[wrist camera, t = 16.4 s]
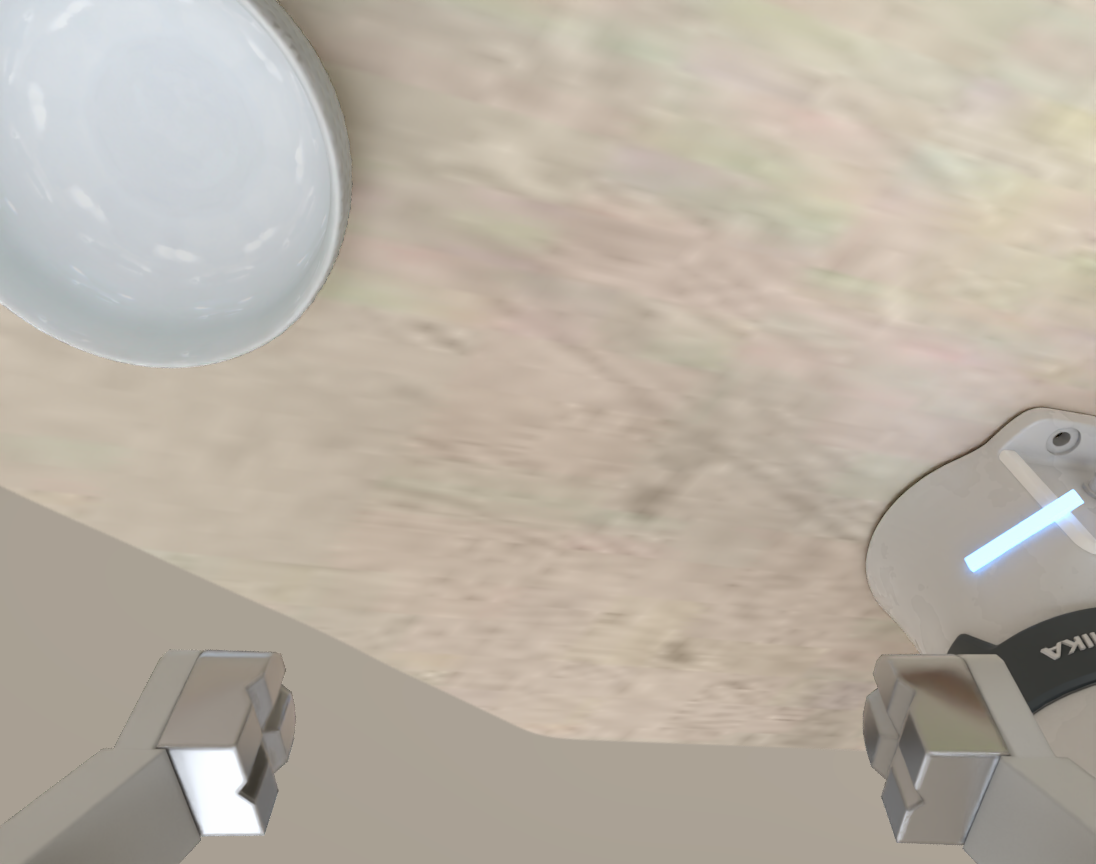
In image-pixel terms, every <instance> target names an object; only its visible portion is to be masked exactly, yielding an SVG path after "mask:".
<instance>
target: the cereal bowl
mask: <svg viewBox="0 0 1096 864" xmlns="http://www.w3.org/2000/svg"><path fill="white" fill-rule="evenodd" d="M351 172H352V158H351V155H350V142H349V139H348V133H347V128H346V126H345V117H344V115H343V113H342V111H341V107H340V103H339V101H338V99H337V96H336V92H335V89H334V87H333V86H332V84H331V82H330V80H329V76H328V73H327V72H326V71H325V69H324V67H323V65H322V63H321V61H320V59H319V58H318V56H317V54H316V52H315V50H314V49H313V47H312V46H311V45H310V43H309V41H308V39H307V38H306V37H305V36H304V34H303V33H302V31H301V30H300V29H299V27H298V26H297V25H296V24H295V23H294V21H293V20H292V18H291V17H290V16H289V15H288V14H287V13H286V11H285V10H284V9H283V8H282V7H281V6H280V5H279V4H278V3H277V1H276V0H0V303H1V304H2V305H3V306H4V307H6V308H7V309H9V310H10V311H11V312H13V313H14V314H15V315H17V316H18V317H20V318H21V319H23V320H25V321H26V322H28V323H29V324H31V325H32V326H34V327H35V328H37V329H39V330H40V331H42V332H44V333H46V334H48V335H50V336H52V337H53V338H55V339H57V340H59V341H61V342H63V343H66V344H68V345H70V346H73V347H75V348H77V349H79V350H82V351H85V352H88V353H90V354H93V355H96V356H99V357H103V358H106V359H109V360H113V361H117V362H121V363H126V364H131V365H137V366H145V367H155V368H186V367H199V366H206V365H211V364H216V363H219V362H223V361H227V360H230V359H233V358H236V357H239V356H242V355H244V354H247V353H249V352H251V351H253V350H255V349H257V348H259V347H261V346H264V345H265V344H267V343H269V342H270V341H272V340H273V339H275V338H276V337H278V336H279V335H281V334H282V333H283V332H284V331H286V330H287V329H288V328H289V327H290V326H291V325H292V324H293V323H294V322H296V321H297V320H298V319H299V318H300V317H301V315H302V314H303V312H304V311H305V310H306V309H307V308H308V307H309V306H310V305H311V304H312V303H313V302H314V300H315V297H316V295H317V293H318V292H319V291H320V290H321V289H322V287H323V285H324V284H325V282H326V280H327V277H328V276H329V275H330V272H331V270H332V269H333V265H334V263H335V262H336V258H337V257H338V255H339V249H340V247H341V245H342V242H343V240H344V235H345V231H346V227H347V225H348V218H349V212H350V209H351V200H352V199H351V196H352V191H351V190H352V185H353V183H352V173H351Z"/></svg>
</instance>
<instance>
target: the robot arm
mask: <svg viewBox="0 0 1096 864" xmlns="http://www.w3.org/2000/svg"><path fill="white" fill-rule="evenodd" d="M1061 432H1063V433H1062V435H1060V436H1059V437H1057V438H1054V437H1055V436H1056V435H1057V434H1059V433H1061ZM866 574H867V580H868V584H869V587H870V590H871V592H872V594H873V596H874V598H875V599H876V601H877V602H878V604H879V605H880V606H881V607H882V608H883V610H884V611H885V612H886V613H887V614H888V615H889V616H890V617H891V618H892V619H893V620H894V621H895V622H896V623H897V624H898V625H899V626H900V628H901V629H902V630H903V631H904V632H905V634H906V635H907V636H908V638H909V639H910V640H911V642H912V643H913V644H914V646H915V647H916V649H917V650H918V652H919V653H920V654H882V655H881V656H880V657H879V659H878V660H877V661H876V665H875V668H874V672H873V676H874V679H875V681H876V684H877V687H878V688H877V689H876V690H874V691H873V692H872V693H871V694H869V695H868V696H867V698H866V702H865V707H864V711H863V735H864V741H865V746H866V751H867V754H868V757H869V760H870V763H871V766H872V768H874V769H875V770H876V771H877V772H878V773H879V774H880V775H881V776H883V777H884V778H885V779H886V782H885V786H884V789H883V792H882V796H881V797H882V800H883V803H884V806H885V809H886V812H887V815H888V818H889V821H890V824H891V827H892V830H893V833H894V836H895V839H896V842H897V843H918V844H944V845H964V846H963V849H964V851H965V852H966V853H967V854H968V855H969V856H970V857H971V858H972V859H973V860H974V861H975V862H976V863H977V864H1096V416H1092V415H1086V414H1080V413H1074V412H1068V411H1063V410H1057V409H1051V408H1034V409H1030V410H1028V411H1026V412H1024V413H1022V414H1020V415H1019V416H1017V417H1016V418H1014V419H1013V420H1012V421H1011V422H1009V423H1008V424H1007V425H1006V426H1005V427H1003V428H1002V429H1001V430H1000V431H999V432H998V433H997V434H996V435H995V436H994V437H992V438H991V439H990V440H989V441H988V442H987V443H986V444H985V445H983V446H982V447H980V448H979V449H977V450H975V451H973V452H971V453H969V454H967V455H965V456H963V457H961V458H959V459H957V460H955V461H952V462H950V463H948V464H946V465H944V466H942V467H940V468H939V469H937V470H935V471H933V472H932V473H930V474H928V475H927V476H925V477H924V478H922V479H921V480H920V481H918V482H917V483H916V484H914V485H913V486H912V487H910V488H909V489H908V490H907V491H906V492H905V493H904V494H902V495H901V496H900V497H899V498H898V499H897V500H896V501H895V503H894V504H893V505H892V506H891V507H890V508H889V510H888V511H887V512H886V513H885V515H884V516H883V518H882V519H881V521H880V522H879V524H878V526H877V527H876V529H875V531H874V534H873V536H872V538H871V541H870V544H869V547H868V552H867V558H866ZM285 672H286V668H285V665H284V662H283V659H282V655H281V653H277V652H259V651H257V652H256V651H227V650H226V651H225V650H173V649H170V650H169V651H167V652H166V653H165V654H164V655H163V656H162V657H161V658H160V659H159V661H158V663H157V665H156V667H155V669H154V671H153V672H152V674H151V676H150V678H149V680H148V682H147V684H146V686H145V688H144V690H143V692H142V694H141V696H140V698H139V700H138V701H137V703H136V705H135V707H134V709H133V711H132V713H131V715H130V717H129V719H128V721H127V723H126V725H125V727H124V729H123V730H122V733H121V734H120V736H119V738H118V740H117V742H116V744H115V746H114V748H113V749H112V748H108V749H101V750H100V751H99V752H97V753H96V754H95V755H93V756H92V757H91V758H89V759H88V760H87V761H85V762H84V763H83V764H81V765H80V766H79V767H77V768H76V769H75V770H74V771H72V772H71V773H70V774H68V775H67V776H65V777H64V778H63V779H61V780H60V781H59V782H57V783H56V784H55V785H54V786H52V787H51V788H50V789H48V790H47V791H46V792H44V793H43V794H42V795H40V796H39V797H38V798H36V799H35V800H34V801H32V802H31V803H30V804H28V805H27V806H26V807H24V808H23V809H22V810H20V811H19V812H18V813H16V814H15V815H14V816H12V817H11V818H10V819H9V820H8V821H6V822H5V823H3V824H2V825H1V826H0V864H180V862H181V861H182V860H183V859H184V858H185V857H186V856H187V855H188V854H189V853H190V852H191V851H192V850H193V848H194V847H195V846H196V845H197V844H198V843H199V842H200V841H201V838H200V836H251V835H264V834H265V832H266V828H267V825H268V822H269V819H270V816H271V813H272V809H273V806H274V803H275V800H276V797H277V794H278V787H277V783H276V780H275V776H274V773H275V772H276V771H277V770H279V769H280V768H281V767H282V766H283V765H284V764H285V763H286V762H287V761H288V759H289V755H290V752H291V748H292V745H293V740H294V733H295V724H296V714H295V704H294V699H293V695H292V692H291V691H290V690H288V689H287V688H286V687H285V686H283V685H282V681H283V678H284V675H285Z"/></svg>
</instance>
